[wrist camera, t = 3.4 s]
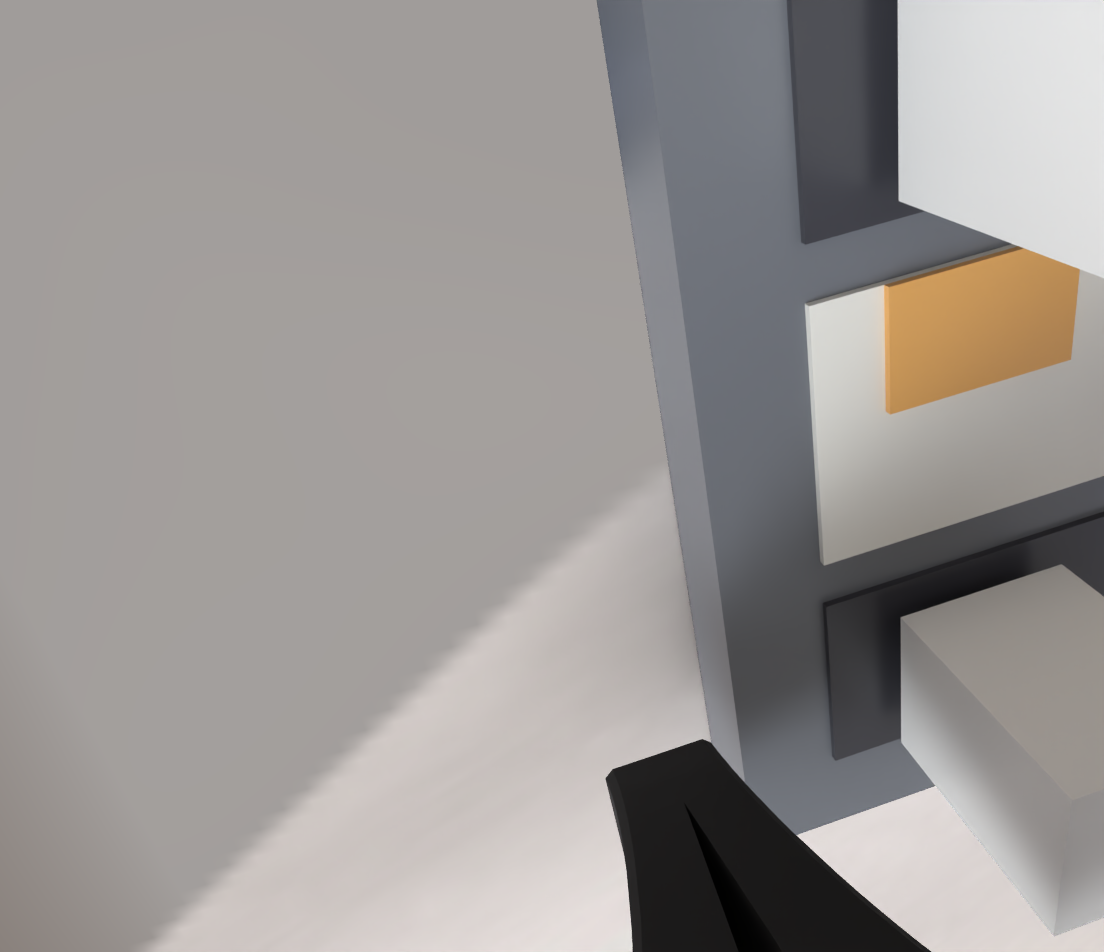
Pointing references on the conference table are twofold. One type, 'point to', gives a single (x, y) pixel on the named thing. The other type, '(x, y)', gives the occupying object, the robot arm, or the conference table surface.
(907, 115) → the switch
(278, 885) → the conference table surface
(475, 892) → the conference table surface
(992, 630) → the switch
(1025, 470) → the dip bank
